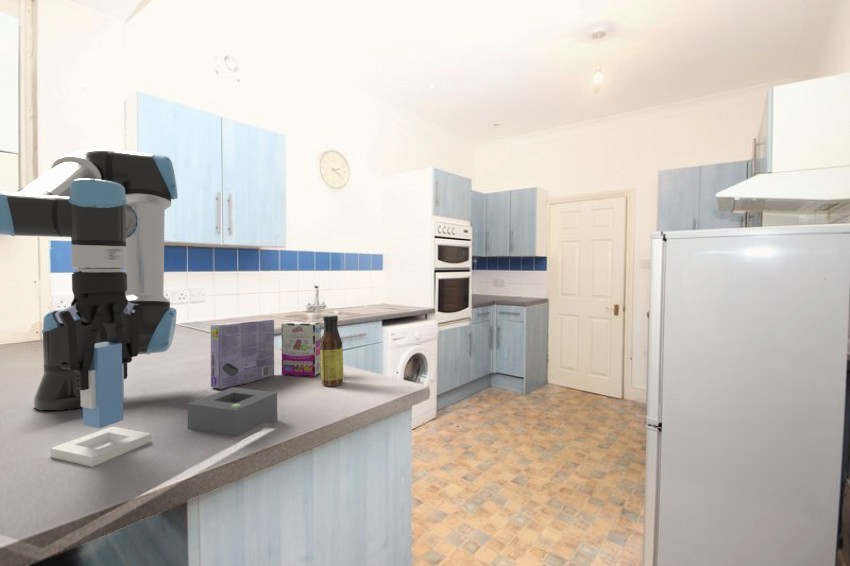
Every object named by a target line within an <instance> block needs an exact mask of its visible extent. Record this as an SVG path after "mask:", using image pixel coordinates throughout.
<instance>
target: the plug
mask: <svg viewBox="0 0 850 566" xmlns="http://www.w3.org/2000/svg"><path fill="white" fill-rule="evenodd" d="M90 369H92V370H96V408H93V409H90V408H85V407H82V420H83V422H82V423H83V424H82V425H83V426H86V427H90V428H94V429H95V428H96V429H99V430H100V429H102V428H103V429H104V428H105V427H108V426H110V425H113V424H114V425H115V424H116V423H119V422H122V421H124V401H123V400H124V399H123V386H122V343H113V342H101V343H95V346H94V352H93V357H92V362H91V367H90Z"/></svg>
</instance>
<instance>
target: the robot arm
mask: <svg viewBox="0 0 850 566" xmlns="http://www.w3.org/2000/svg"><path fill="white" fill-rule="evenodd" d="M177 187H178V186H177V182H176V176H175V170H174V166H173V162H172V160H171V158H169V157H168V156H166V155H162V154H155V153H153V152H151V153H147V152H139V151H138V152H137V151H130V150H129V151H128V150H123V149H122V150H120V149H112V148H106V147H105V148H104V147H99V148H87V149H83V150H78V151H74V152H71V153H68V154H65V155H63V156H61V157H59V158H57V159H56V160H55V161H54V162H53V163H52V165H51V167H50V170H48V171H47V172H45V173H43V174H42V175H40V176H39V177H37V178H35V179H34V180H32V181H31V182H29V183H27V184H25V185H24V186H22V187H21V188H19V189H18V190H16V191H15V192H7V191H2V190H1V191H0V235H5V236H11V237H17V236H18V237H51V238H52V237H53V238H55V237H56V238H57V237H59V238H71V239H70V243H71V244H70V245H71V246H70V247H71V249H70V253H71V254H70V255H71V260H70V261H71V263H70V266H71V267H70V268H72V269H74V270H75V271H73V273H72V274H71V292H72V294H73V300H72V301H71V303H70V306H68V307H66V308H62V309H55V310H51V311H49V312H47V313H46V314H45V315H44V316H43V323H42V324H43V325H42V330H41V334H42V344H43V345H42V349H43V350H42V351H43V374H42V377H41V380H40V383H39V385H38V388H37V391H36V393H35V396H34V398H33V404H34V405H33V406H34V407H35V408H36V409H35V408H34V409H35V410H37V409H38V411H43V410H57V411H66V410H65V409H68V410H74V408H75V409H80V407H81V408H83V407H85V408H90V409H93V408H96V370H92V369H90V367H91V362H92V357H93V352H94V346H95V343H101V342H113V343H122V386H123V400H124V399H125V380H126V379H127V378H128V376H129V375H128V364H129V363H131V362H132V361H133V357H135V358H136V357H138V355H150V354H157V353H163V352H167V351H168V350H169V349H170V348H171V346H172V343H173V340H174V336H175V330H176V324H177V309H176V308H174V307H171V301H170V300H168V298H167V297H165V295H164V293H165V291H164V289H165V288H164V285H165V281H164V280H165V278H164V277H165V275H164V274H165V270H164V269H165V266H164V265H165V212H166V210H168V208H170V207H171V206H172V200H177V199H178V188H177Z"/></svg>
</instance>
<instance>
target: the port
mask: <svg viewBox="0 0 850 566" xmlns="http://www.w3.org/2000/svg"><path fill="white" fill-rule="evenodd" d="M277 420H278V392H275V391H269V390H268V391H267V390H261V389H251V388H243V387H237V386H233V387H229V388H225V389H223V390H220V391H218V392H215V393H212V394H210V395H207V396H204V397H202V398H199V399H196V400H192V401H191V402H188V403H187V429H189V430H196V431H202V432H207V433H213V434H219V435H223V436H224V435H225V436H230V437H239V436H240V435H242V434H244V433H246V432H248V431H250V430H252V429H254V428H255V427H258V426H259V425H261V424H263V423H269V424H270V423H273V422H275V421H277Z"/></svg>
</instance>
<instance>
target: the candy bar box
mask: <svg viewBox="0 0 850 566" xmlns="http://www.w3.org/2000/svg"><path fill="white" fill-rule="evenodd" d="M321 327H322V323H321V322H319V321H317V322H315V321H285V322H281V375H282V376H288V375H289V376H291V377H308V376H310V378H311V377H312V378H315V377H317V376H318V374H319V375H321V353H320V349H321V337H322V333H321V332H322V331H321V330H322V328H321Z"/></svg>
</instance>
